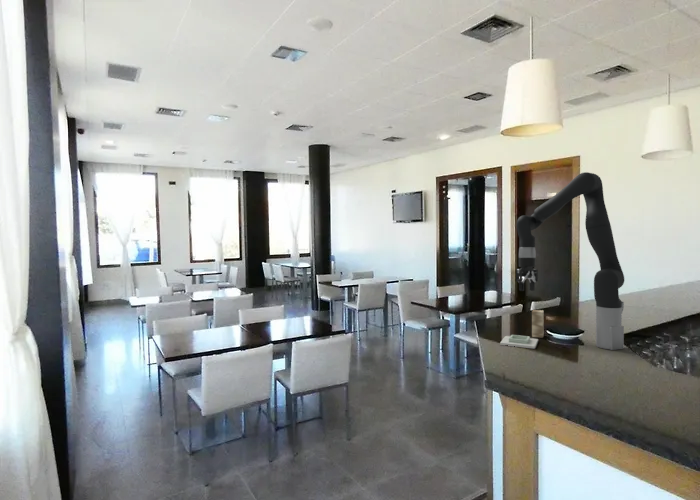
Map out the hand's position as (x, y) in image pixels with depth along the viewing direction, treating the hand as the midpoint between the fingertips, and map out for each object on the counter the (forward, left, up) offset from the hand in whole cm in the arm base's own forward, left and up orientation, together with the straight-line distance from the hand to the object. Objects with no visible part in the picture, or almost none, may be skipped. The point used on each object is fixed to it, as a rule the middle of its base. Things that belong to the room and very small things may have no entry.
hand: (526, 290), depth 204 cm
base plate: (-14, +14, -21) cm, 29 cm away
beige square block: (-6, -2, -21) cm, 22 cm away
